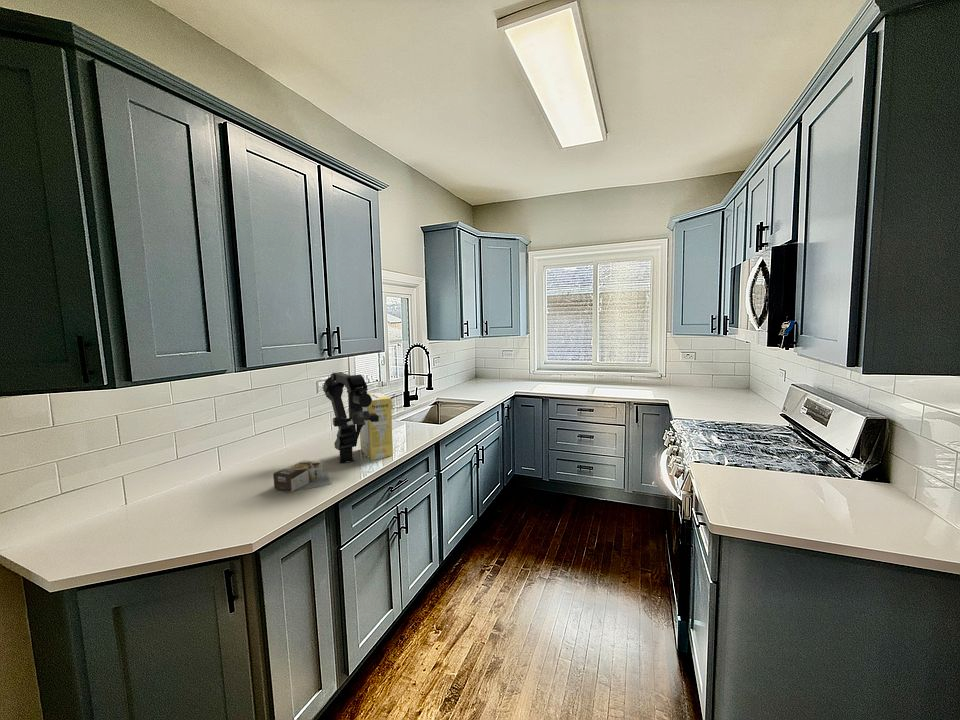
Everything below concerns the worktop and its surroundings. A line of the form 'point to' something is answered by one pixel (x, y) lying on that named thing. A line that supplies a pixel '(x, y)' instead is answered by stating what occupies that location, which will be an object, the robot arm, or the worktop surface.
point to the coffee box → (297, 475)
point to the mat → (316, 482)
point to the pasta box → (378, 428)
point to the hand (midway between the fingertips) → (356, 438)
